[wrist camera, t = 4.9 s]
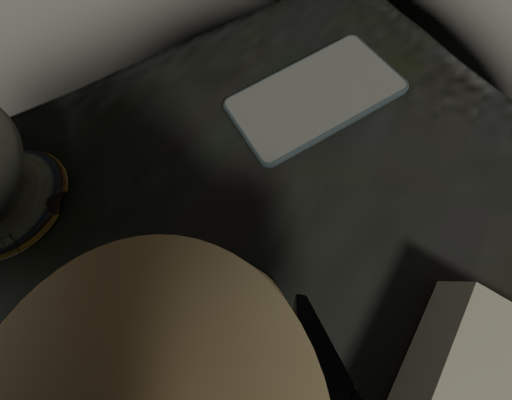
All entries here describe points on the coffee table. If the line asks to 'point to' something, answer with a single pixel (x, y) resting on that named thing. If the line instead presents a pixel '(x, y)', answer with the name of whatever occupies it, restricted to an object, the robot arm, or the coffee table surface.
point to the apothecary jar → (26, 191)
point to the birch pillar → (157, 329)
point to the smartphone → (312, 99)
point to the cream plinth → (459, 347)
